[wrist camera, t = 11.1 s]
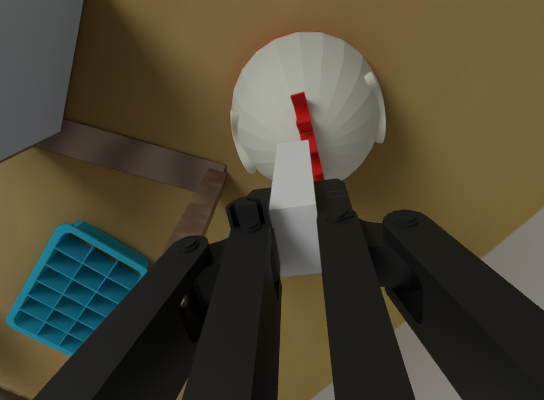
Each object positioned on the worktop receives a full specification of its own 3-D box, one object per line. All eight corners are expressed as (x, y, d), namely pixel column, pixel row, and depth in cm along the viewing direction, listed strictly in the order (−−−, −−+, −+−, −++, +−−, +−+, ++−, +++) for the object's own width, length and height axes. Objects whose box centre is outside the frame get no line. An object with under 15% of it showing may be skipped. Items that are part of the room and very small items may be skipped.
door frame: (228, 165, 38) (191, 253, 24) (220, 197, 40) (181, 297, 26) (18, 105, 36) (-158, 162, 22) (20, 142, 38) (-142, 216, 24)
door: (55, -42, 30) (-113, -84, 18) (88, -26, 30) (-53, -56, 18) (32, 119, 36) (-102, 172, 24) (60, 131, 37) (-58, 189, 24)
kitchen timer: (256, 186, 39) (238, 273, 26) (214, 56, 33) (163, 81, 20) (385, 156, 37) (439, 234, 24) (364, 11, 31) (420, 6, 18)
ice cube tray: (18, 307, 50) (2, 324, 47) (75, 206, 42) (61, 219, 39) (95, 346, 52) (84, 363, 50) (162, 258, 45) (154, 273, 42)
